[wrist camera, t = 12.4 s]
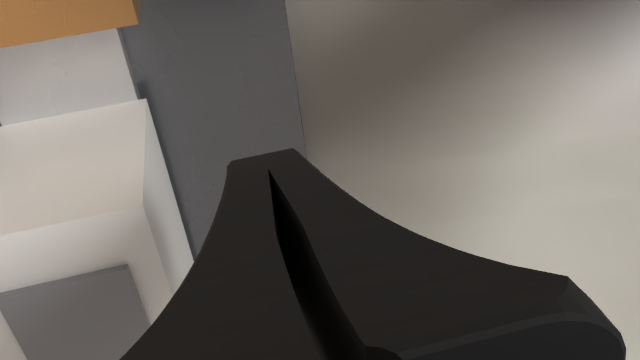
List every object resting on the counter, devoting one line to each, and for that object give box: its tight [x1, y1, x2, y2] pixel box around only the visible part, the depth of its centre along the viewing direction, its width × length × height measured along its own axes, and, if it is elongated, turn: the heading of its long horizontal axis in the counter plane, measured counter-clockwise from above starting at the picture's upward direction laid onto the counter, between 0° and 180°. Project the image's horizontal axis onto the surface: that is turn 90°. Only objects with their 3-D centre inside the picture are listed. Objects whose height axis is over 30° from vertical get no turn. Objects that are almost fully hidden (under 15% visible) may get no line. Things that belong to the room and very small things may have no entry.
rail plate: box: [0, 0, 307, 261], centre depth 21 cm, size 14×18×3 cm
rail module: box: [0, 98, 194, 360], centre depth 18 cm, size 4×8×6 cm, turn 7°
